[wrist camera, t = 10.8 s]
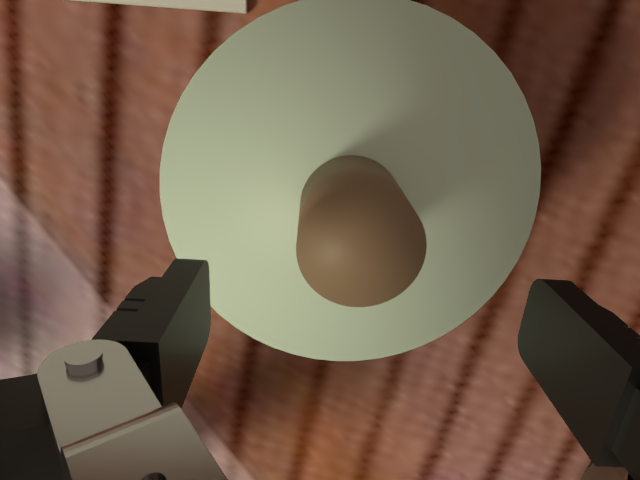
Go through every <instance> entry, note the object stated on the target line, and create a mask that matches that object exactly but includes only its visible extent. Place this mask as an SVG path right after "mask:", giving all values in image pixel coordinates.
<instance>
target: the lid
mask: <svg viewBox="0 0 640 480" xmlns="http://www.w3.org/2000/svg"><path fill="white" fill-rule="evenodd" d="M540 182H541V160H540V149H539V141H538V137H537V133H536V128H535V124H534V120H533V117H532V114H531V112H530V109H529V107H528V104H527V102H526V99H525V96H524V94H523V93H522V91H521V89H520V87H519V86H518V84H517V82H516V80H515V79H514V77H513V75H512V73H511V72H510V71H509V69H508V68H507V67H506V66H505V64H504V63H503V62H502V61H501V59H500V58H499V57H498V55H497V54H496V53H495V52H494V51H493V50H492V49H491V48H490V47H489V46H488V45H487V44H486V43H485V42H484V41H483V40H481V39H480V38H479V37H478V36H477V35H476V34H475V33H474V32H472V31H471V30H469V29H468V28H466V27H465V26H463V25H462V24H461V23H459V22H458V21H456V20H455V19H453V18H452V17H450V16H448V15H446V14H443V13H441V12H439V11H437V10H435V9H433V8H431V7H429V6H427V5H424V4H421V3H417V2H414V1H411V0H300V1H297V2H294V3H290V4H287V5H284V6H282V7H280V8H277V9H275V10H273V11H271V12H269V13H267V14H265V15H263V16H260V17H258V18H257V19H255V20H254V21H252V22H251V23H249V24H248V25H246V26H245V27H243V28H242V29H240V30H239V31H237V32H235V33H234V34H233V35H232V36H231V37H230V38H228V39H227V40H226V41H225V42H224V43H223V44H222V45H221V46H219V47H218V48H217V49H216V50H215V51H214V52H213V53H212V54H211V55H210V56H209V58H208V59H207V60H206V61H205V62H204V63H203V65H202V66H201V67H200V68H199V69H198V71H197V72H196V73H195V74H194V76H193V78H192V79H191V81H190V82H189V84H188V86H187V87H186V89H185V90H184V92H183V94H182V95H181V97H180V99H179V102H178V104H177V106H176V108H175V111H174V113H173V115H172V117H171V120H170V123H169V126H168V130H167V133H166V137H165V140H164V144H163V150H162V157H161V164H160V200H161V207H162V214H163V220H164V223H165V227H166V230H167V234H168V238H169V241H170V243H171V246H172V248H173V250H174V253H175V255H176V257H177V258H178V259H197V260H207V261H208V264H209V278H210V306H211V307H212V308H213V309H214V310H215V311H216V312H217V313H218V314H219V315H220V316H222V317H223V318H224V319H226V320H227V321H228V322H229V323H231V324H232V325H233V326H234V327H236V328H237V329H239V330H241V331H242V332H244V333H245V334H247V335H249V336H250V337H252V338H254V339H256V340H258V341H260V342H262V343H264V344H266V345H269V346H271V347H273V348H276V349H279V350H282V351H285V352H288V353H291V354H294V355H298V356H303V357H308V358H312V359H320V360H330V361H361V360H370V359H378V358H383V357H387V356H391V355H396V354H400V353H403V352H406V351H409V350H412V349H414V348H417V347H420V346H422V345H424V344H427V343H429V342H431V341H433V340H435V339H437V338H439V337H441V336H443V335H444V334H446V333H448V332H449V331H451V330H452V329H454V328H456V327H457V326H459V325H460V324H461V323H463V322H464V321H465V320H467V319H468V318H469V317H470V316H472V315H473V314H474V313H476V312H477V311H478V310H479V309H480V308H481V307H482V306H483V305H484V304H485V303H486V302H487V301H488V300H489V299H490V298H491V297H492V296H493V295H494V293H495V292H496V291H497V290H498V288H499V287H500V286H501V285H502V283H503V282H504V281H505V280H506V278H507V277H508V275H509V274H510V272H511V270H512V269H513V267H514V266H515V264H516V263H517V261H518V259H519V257H520V255H521V253H522V251H523V249H524V247H525V244H526V242H527V240H528V238H529V235H530V232H531V229H532V226H533V223H534V219H535V216H536V211H537V206H538V200H539V195H540Z"/></svg>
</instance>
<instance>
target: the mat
mask: <svg viewBox="0 0 640 480" xmlns="http://www.w3.org/2000/svg"><path fill="white" fill-rule="evenodd" d="M71 1H85V2H98V3H111V4H124V5H138V6H151V7H164V8H177V9H191V10H204V11H217V12H230V13H244V14H247V0H71Z"/></svg>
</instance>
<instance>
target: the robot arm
mask: <svg viewBox="0 0 640 480" xmlns="http://www.w3.org/2000/svg"><path fill="white" fill-rule="evenodd" d="M210 321H211V313H210V278H209V264H208V261H207V260H197V259H178V258H176V259H175V260H174V261H173V262H172V264H171V265H170V266H169V268H168V269H167V270H166V272H165V273H164V275H163V276H162V277H150V278H148V279H147V280H145V281H143V282H141V283H140V284H138V285H136V286H134V288H133V289H132V290H131V291H130V293H129V294H128V295H127V296H126V297H125V301H122V302H121V304H120V305H119V306H118V307H117V311H114V312H113V314H112V315H111V316H110V317H109V319H108V320H107V321H106V322H105V323H104V325H103V326H102V327H101V328H100V330H99V331H98V332H97V333H96V335H95V336H94V337H93V338H92V340H87V341H81V342H77V343H74V344H71V345H68V346H65V347H63V348H61V349H59V350H57V351H55V352H54V353H52V354H51V355H49V356H48V357H47V358H46V359H45V360H44V361H43V362H42V363H41V364H40V366H39V368H38V371H37V374H33V375H28V376H22V377H15V378H8V379H2V380H0V480H228V479H227V478H226V476H225V475H224V473H223V472H222V470H221V469H220V467H219V466H218V464H217V462H216V461H215V459H214V458H213V456H212V455H211V453H210V452H209V450H208V449H207V447H206V446H205V444H204V443H203V441H202V440H201V438H200V437H199V435H198V434H197V432H196V430H195V429H194V427H193V426H192V424H191V423H190V421H189V420H188V418H187V417H186V415H185V414H184V412H183V411H182V409H181V408H182V405H183V403H184V400H185V398H186V395H187V393H188V390H189V387H190V385H191V382H192V380H193V377H194V375H195V372H196V370H197V367H198V364H199V362H200V359H201V357H202V354H203V352H204V349H205V347H206V344H207V341H208V337H209V332H210ZM518 349H519V353H520V356H521V358H522V360H523V361H524V363H525V364H526V366H527V367H528V369H529V370H530V372H531V373H532V375H533V376H534V377H535V379H536V380H537V382H538V383H539V385H540V386H541V388H542V389H543V391H544V392H545V394H546V395H547V397H548V398H549V399H550V401H551V402H552V404H553V405H554V407H555V408H556V410H557V411H558V413H559V414H560V416H561V417H562V418H563V420H564V421H565V423H566V424H567V426H568V427H569V429H570V430H571V432H572V433H573V435H574V436H575V437H576V439H577V440H578V442H579V443H580V445H581V446H582V448H583V449H584V451H585V452H586V454H587V455H588V456H589V458H590V459H591V461H592V462H593V463H592V464H591V465H590V467H589V468H588V469H587V470H586V471H585V473H584V475H583V477H582V479H581V480H640V335H638V334H637V333H636V332H635V331H634V330H633V329H631V328H628V325H627V324H626V323H624V322H623V321H622V320H621V319H620V318H619V317H617V316H616V315H615V314H614V313H613V312H611V311H609V310H607V309H605V308H603V307H602V306H600V305H598V304H597V303H596V302H594V301H593V300H592V299H591V298H590V297H589V296H587V295H586V294H585V293H584V292H583V291H582V290H581V289H579V288H578V287H577V286H576V285H575V284H574V283H573V282H571V281H567V280H549V279H537V280H535V281H534V282H533V284H532V285H531V288H530V291H529V295H528V299H527V303H526V307H525V310H524V314H523V318H522V322H521V326H520V330H519V334H518Z"/></svg>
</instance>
